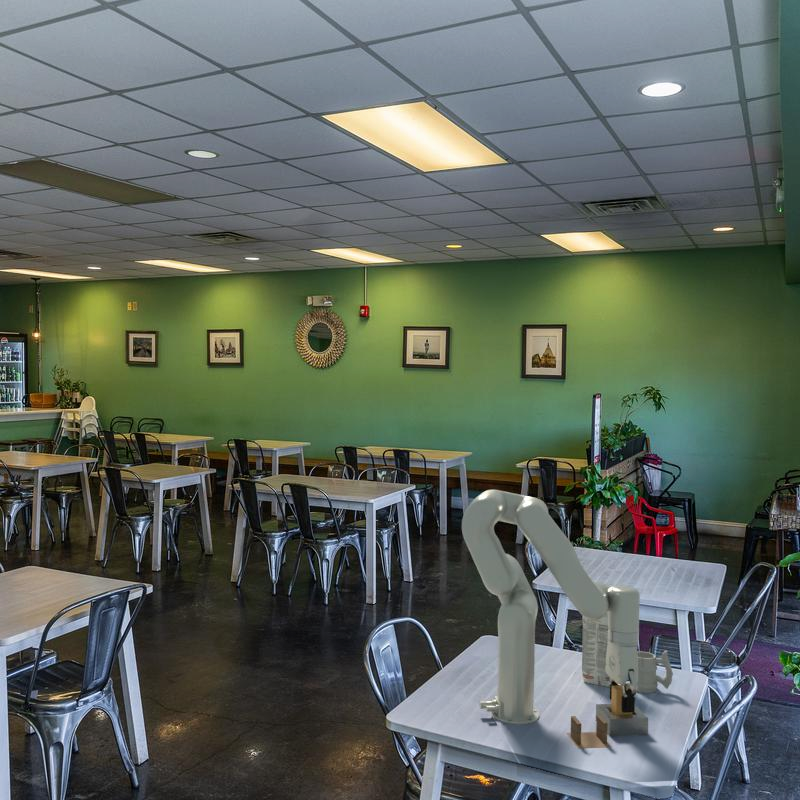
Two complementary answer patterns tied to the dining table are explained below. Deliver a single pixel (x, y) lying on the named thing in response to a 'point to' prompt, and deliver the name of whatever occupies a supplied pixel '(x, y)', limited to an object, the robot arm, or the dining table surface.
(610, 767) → the dining table surface
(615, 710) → the plug
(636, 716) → the port block
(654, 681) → the mug
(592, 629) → the juice carton
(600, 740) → the tan u-shaped piece
